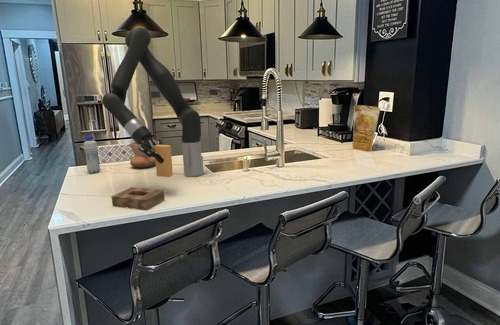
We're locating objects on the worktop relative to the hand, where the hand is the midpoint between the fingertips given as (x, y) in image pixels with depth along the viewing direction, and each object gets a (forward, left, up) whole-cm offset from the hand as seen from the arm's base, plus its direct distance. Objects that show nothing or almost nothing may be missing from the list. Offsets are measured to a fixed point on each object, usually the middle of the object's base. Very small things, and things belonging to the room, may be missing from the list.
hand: (164, 160), depth 147 cm
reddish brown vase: (+2, -56, -15) cm, 58 cm away
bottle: (+28, -56, -15) cm, 64 cm away
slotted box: (+13, +6, -14) cm, 20 cm away
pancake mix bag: (-132, -26, -15) cm, 136 cm away
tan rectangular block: (0, 0, -6) cm, 6 cm away
